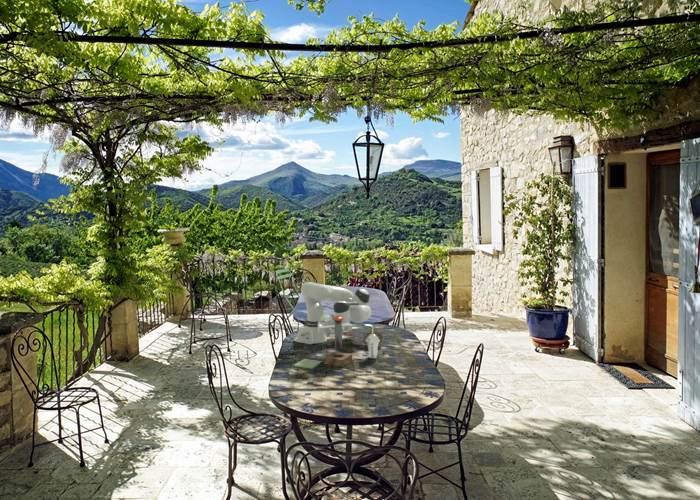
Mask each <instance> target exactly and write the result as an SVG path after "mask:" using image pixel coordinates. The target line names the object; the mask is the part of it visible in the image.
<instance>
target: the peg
mask: <svg viewBox="0 0 700 500" xmlns="http://www.w3.org/2000/svg"><path fill="white" fill-rule="evenodd" d="M331 317H332V320H333V321H335V332H336V333H334V343H335V345H334V348H336V349H341V348H343V332H342V320H344V317H342V316H335V317H334V316H331Z"/></svg>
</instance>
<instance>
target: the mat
mask: <svg viewBox="0 0 700 500" xmlns="http://www.w3.org/2000/svg"><path fill="white" fill-rule="evenodd" d="M321 362H322V363H323V360H316V359H307V358H304V359H301V360H300V361H297V362H296V363H295V364H293V367H295V368H305V369H311V370H312V369H314V368H316V367H317V366H319V365H321V364H322V363H321ZM320 363H321V364H320ZM318 364H319V365H318Z"/></svg>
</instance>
